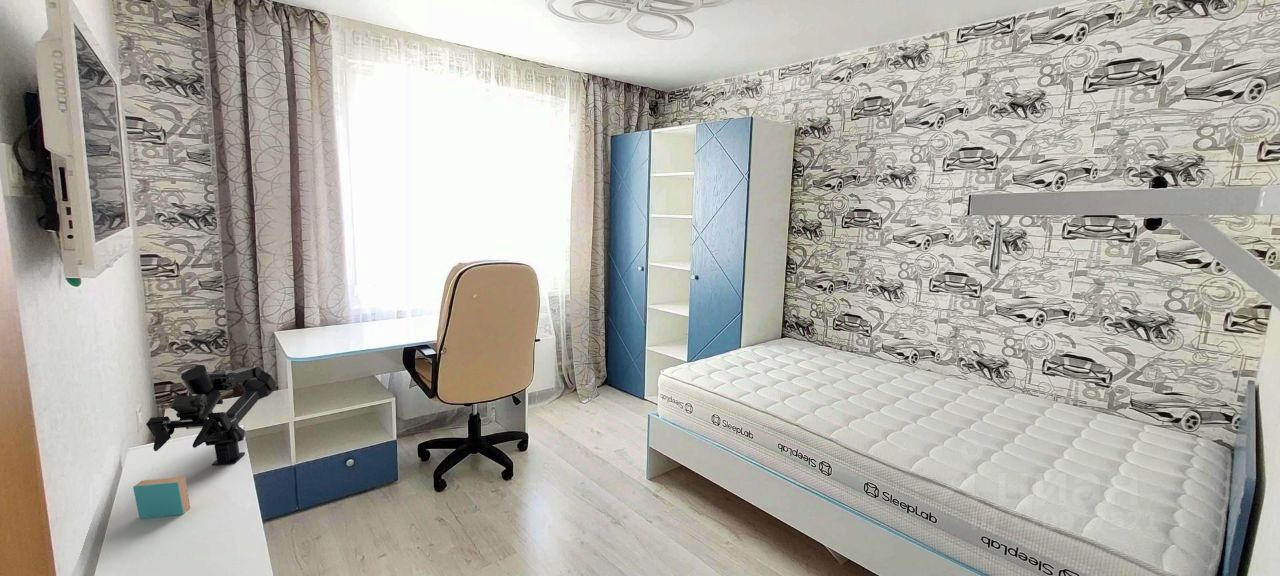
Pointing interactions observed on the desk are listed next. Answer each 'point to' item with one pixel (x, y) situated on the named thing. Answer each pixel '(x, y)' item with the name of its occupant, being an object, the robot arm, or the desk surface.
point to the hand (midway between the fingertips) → (174, 448)
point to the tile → (161, 497)
